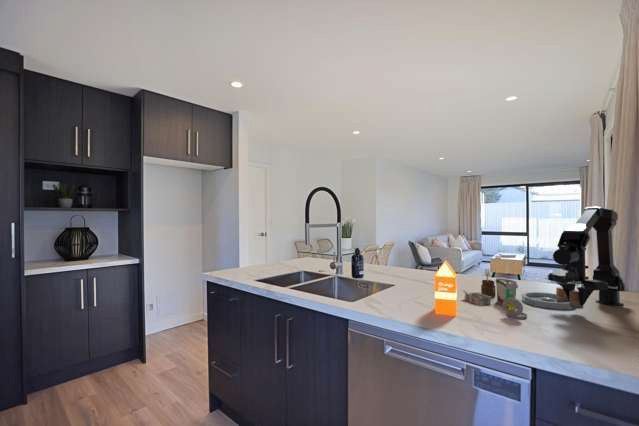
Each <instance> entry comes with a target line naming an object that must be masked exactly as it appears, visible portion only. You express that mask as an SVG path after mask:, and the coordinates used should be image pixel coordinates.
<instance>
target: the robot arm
mask: <svg viewBox="0 0 639 426" xmlns="http://www.w3.org/2000/svg"><path fill="white" fill-rule="evenodd" d="M583 211H584V212H583V213H582V214H581V216H579V219H577V221H576V222H575V223H574V225H570V226H568V227H566V228H565V229H564V230H563V231H562V233H561V234H560V238H559V240H558V243H557V248H558V249H556V250H555V251H554V252H553V254H552V259H553V261H554V262H555V263H556V264H558V265H562V268H561V269H558V270H556V271H555V272H550V273H549V274H548V275H547V279H548V280H547V281H551V282H555V283H556V284H557V285H558V286H560V287H562V288H563V289H564V291H565V293H566V296H567V298H568V300H569V290H576V289H577V290H578V291H579V295H580V305H583V306H584V305H585V304H586V302H587V301H588V299H589V298H590V296H591V295H592V294H593V292H594V291H598V300H597V299H596V300H595V302H596V303H600V304H604V305H608V306H611V307H612V306H624V303H623V302H620V299H621V298H620V296H621V295H620V292H625V291H626V284H625V282H624V280H623V278H622V277H621V275H620V274H621V273H620V270H619V269H618V268H617V267H616V266H615V264H614V249H613V236H612V234H613V233H612V232H613V231H612V230H613V229H614V228H615V227H616V226H617V221H618V218H619V216H618V212H616V211H615V210H614V209H608V208H603V207H600V206H588V207H585V208H584V210H583ZM592 228H593V229H594V230H595V231H596V245H597V246H596V247H597V261H598V262H597V264H598V265H597V266H596V268H594V269H593V272H592V273H593V274H592V279H589V276H587V275H586V273H587V272H586V269H589V265H586V251H587V248H586V247H587V245H588V244H589V241H590V239H591V237H590V233H589V232H590V230H591V229H592ZM576 284H577V285H580V286H579V287H578V286H577V287H576ZM569 302H570V301H569Z"/></svg>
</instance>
